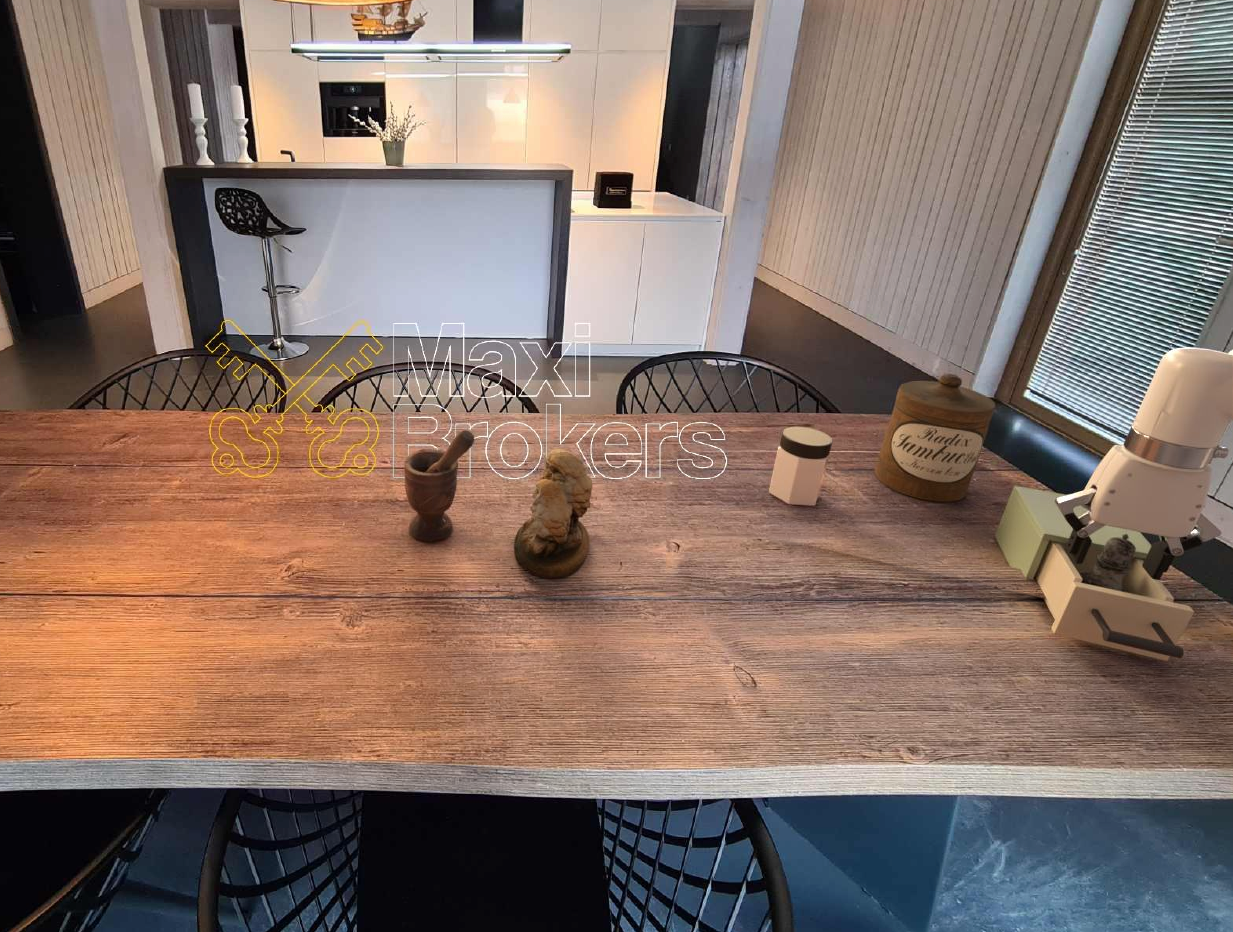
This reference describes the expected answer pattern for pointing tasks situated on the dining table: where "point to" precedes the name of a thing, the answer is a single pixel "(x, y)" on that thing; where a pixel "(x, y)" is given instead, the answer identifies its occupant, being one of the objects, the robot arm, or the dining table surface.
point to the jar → (800, 465)
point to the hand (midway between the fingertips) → (1111, 565)
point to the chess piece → (1111, 564)
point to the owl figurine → (556, 519)
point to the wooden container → (934, 439)
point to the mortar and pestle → (434, 487)
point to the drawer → (1111, 606)
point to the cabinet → (1047, 529)
